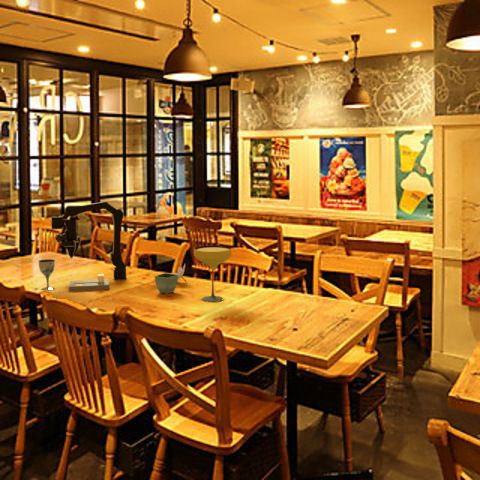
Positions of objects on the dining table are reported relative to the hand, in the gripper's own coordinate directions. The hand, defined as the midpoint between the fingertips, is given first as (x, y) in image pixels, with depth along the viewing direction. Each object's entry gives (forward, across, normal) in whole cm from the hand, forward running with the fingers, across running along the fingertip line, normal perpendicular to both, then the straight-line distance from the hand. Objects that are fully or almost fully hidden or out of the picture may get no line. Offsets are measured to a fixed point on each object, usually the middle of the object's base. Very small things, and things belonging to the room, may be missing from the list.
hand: (73, 256), depth 307 cm
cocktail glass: (+15, +44, +74) cm, 88 cm away
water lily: (+15, +7, +57) cm, 59 cm away
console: (+14, +14, +10) cm, 23 cm away
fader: (+13, +13, +16) cm, 25 cm away
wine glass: (+14, +16, -10) cm, 24 cm away
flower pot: (+15, +29, +52) cm, 61 cm away
